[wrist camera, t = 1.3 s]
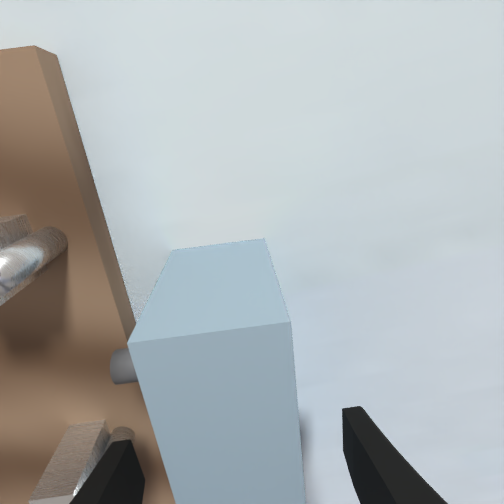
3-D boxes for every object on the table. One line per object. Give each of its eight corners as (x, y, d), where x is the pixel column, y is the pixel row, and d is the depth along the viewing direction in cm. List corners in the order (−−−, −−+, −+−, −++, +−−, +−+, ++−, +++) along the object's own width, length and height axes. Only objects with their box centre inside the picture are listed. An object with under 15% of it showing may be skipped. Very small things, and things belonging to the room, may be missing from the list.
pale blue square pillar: (286, 451, 17) (314, 610, 11) (199, 464, 17) (184, 630, 11) (264, 237, 13) (291, 321, 7) (147, 252, 13) (80, 349, 7)
